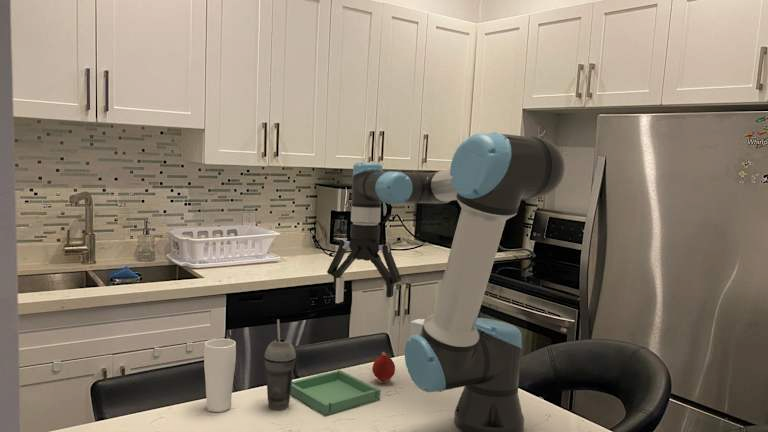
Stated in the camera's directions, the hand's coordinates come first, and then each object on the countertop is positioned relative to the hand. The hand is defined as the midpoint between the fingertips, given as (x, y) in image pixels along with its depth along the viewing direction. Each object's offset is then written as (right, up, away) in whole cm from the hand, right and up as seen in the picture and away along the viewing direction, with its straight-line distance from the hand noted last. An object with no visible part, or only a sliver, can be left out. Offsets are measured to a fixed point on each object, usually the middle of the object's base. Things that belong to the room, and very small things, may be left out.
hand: (362, 305), depth 155 cm
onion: (+5, -20, 0) cm, 21 cm away
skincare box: (+16, -19, +17) cm, 30 cm away
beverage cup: (-18, -21, -18) cm, 33 cm away
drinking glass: (-31, -20, -20) cm, 42 cm away
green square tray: (-7, -20, -10) cm, 24 cm away
